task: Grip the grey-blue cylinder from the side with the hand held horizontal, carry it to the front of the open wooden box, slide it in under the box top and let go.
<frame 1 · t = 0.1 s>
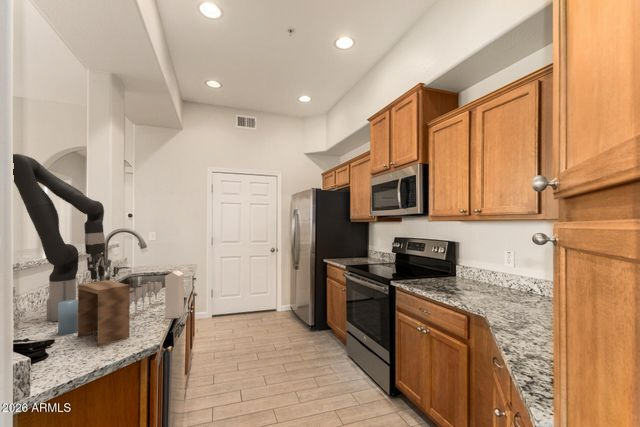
hand: (97, 277, 141), 17 cm above the countertop, tool pointing down, fingers open, 8 cm apart
goblet set: (143, 311, 146), on the countertop
grey-blue cylinder: (68, 332, 119), on the countertop
milk: (174, 316, 138), on the countertop
open wooden box: (103, 336, 114), on the countertop
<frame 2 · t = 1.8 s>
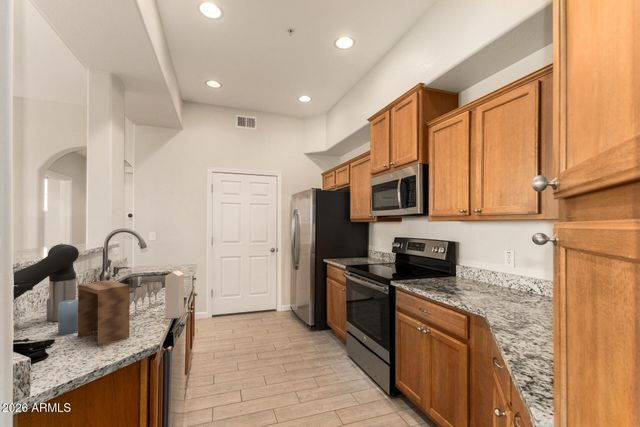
hand: (29, 285, 110), 20 cm above the countertop, tool horizontal, fingers open, 8 cm apart
nothing on the countertop moved.
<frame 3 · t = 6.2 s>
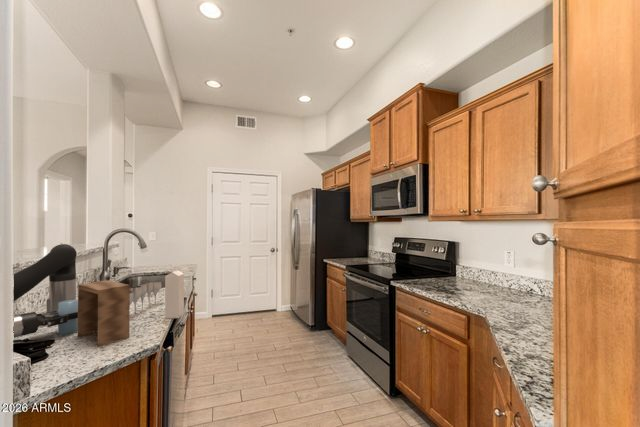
hand: (75, 313, 121), 7 cm above the countertop, tool horizontal, fingers closed on grey-blue cylinder, 6 cm apart
grey-blue cylinder: (68, 332, 119), on the countertop, touching gripper
everything else where it was.
when the fingers open (8 cm above the countertop, at t = 15.6 s): grey-blue cylinder drops 1 cm, on the countertop.
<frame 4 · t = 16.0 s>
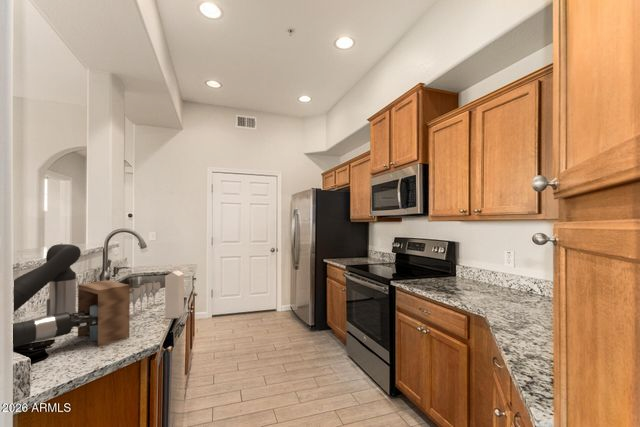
hand: (106, 313, 115), 8 cm above the countertop, tool horizontal, fingers open, 8 cm apart
grey-blue cylinder: (99, 337, 113), on the countertop
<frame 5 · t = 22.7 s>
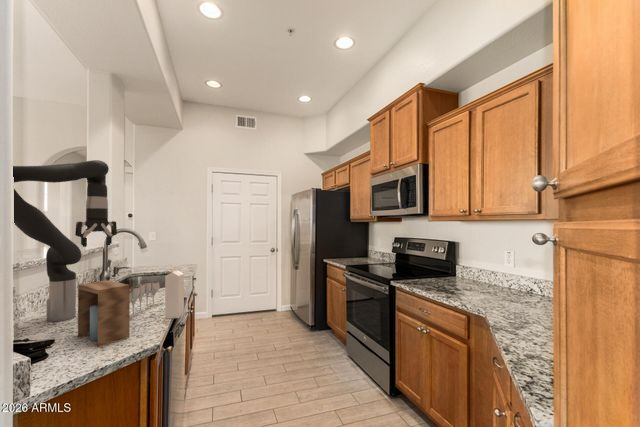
hand: (96, 245, 128), 33 cm above the countertop, tool pointing down, fingers open, 8 cm apart
at the end: grey-blue cylinder 1.1 cm from the open wooden box (horizontally); grey-blue cylinder tilted 0°; the gripper is holding nothing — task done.
